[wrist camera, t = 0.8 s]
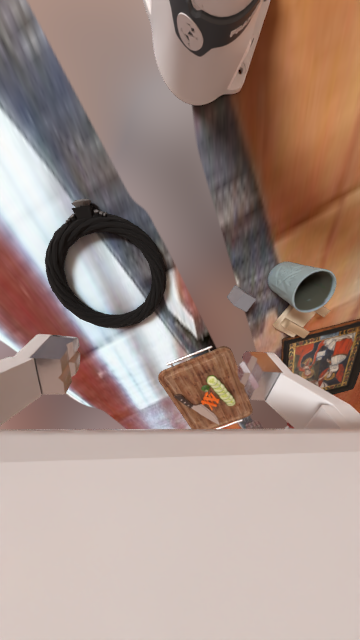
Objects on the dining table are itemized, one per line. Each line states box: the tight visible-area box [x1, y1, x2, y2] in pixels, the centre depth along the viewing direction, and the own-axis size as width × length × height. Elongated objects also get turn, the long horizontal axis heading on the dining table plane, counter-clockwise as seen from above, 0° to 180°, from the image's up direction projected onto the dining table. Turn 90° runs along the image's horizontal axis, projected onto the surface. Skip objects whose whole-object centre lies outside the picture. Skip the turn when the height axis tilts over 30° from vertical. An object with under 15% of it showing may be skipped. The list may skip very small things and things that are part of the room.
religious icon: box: [281, 319, 360, 395], centre depth 70 cm, size 38×35×3 cm
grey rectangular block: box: [227, 285, 256, 312], centre depth 50 cm, size 4×4×6 cm
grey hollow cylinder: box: [268, 262, 336, 313], centre depth 47 cm, size 10×10×12 cm
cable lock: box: [45, 199, 166, 328], centre depth 45 cm, size 28×4×30 cm
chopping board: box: [158, 345, 252, 429], centre depth 71 cm, size 45×27×3 cm, turn 23°
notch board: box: [273, 305, 330, 338], centre depth 56 cm, size 14×8×5 cm, turn 151°
